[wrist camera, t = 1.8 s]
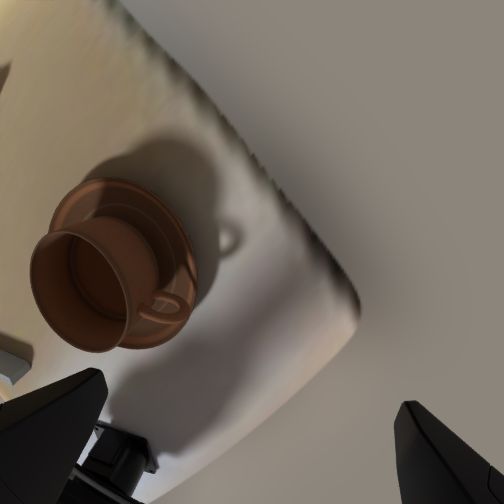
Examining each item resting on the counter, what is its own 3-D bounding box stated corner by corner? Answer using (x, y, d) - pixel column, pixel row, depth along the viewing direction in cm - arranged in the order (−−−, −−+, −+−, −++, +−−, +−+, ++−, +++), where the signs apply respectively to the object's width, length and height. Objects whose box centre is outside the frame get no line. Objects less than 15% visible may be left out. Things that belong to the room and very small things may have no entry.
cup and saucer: (193, 163, 19) (149, 166, 13) (216, 339, 22) (191, 396, 16) (51, 188, 20) (-8, 202, 15) (83, 330, 24) (40, 369, 18)
